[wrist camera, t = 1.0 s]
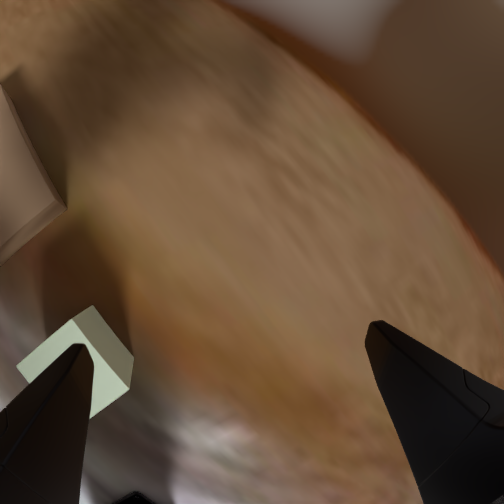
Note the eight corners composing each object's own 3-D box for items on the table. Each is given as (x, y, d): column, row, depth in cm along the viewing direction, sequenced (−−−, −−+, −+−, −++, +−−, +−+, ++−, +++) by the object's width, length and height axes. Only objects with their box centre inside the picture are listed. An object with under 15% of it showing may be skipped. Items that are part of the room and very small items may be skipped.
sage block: (88, 392, 19) (71, 431, 13) (47, 341, 18) (16, 366, 12) (134, 357, 20) (129, 389, 14) (92, 304, 19) (71, 318, 13)
